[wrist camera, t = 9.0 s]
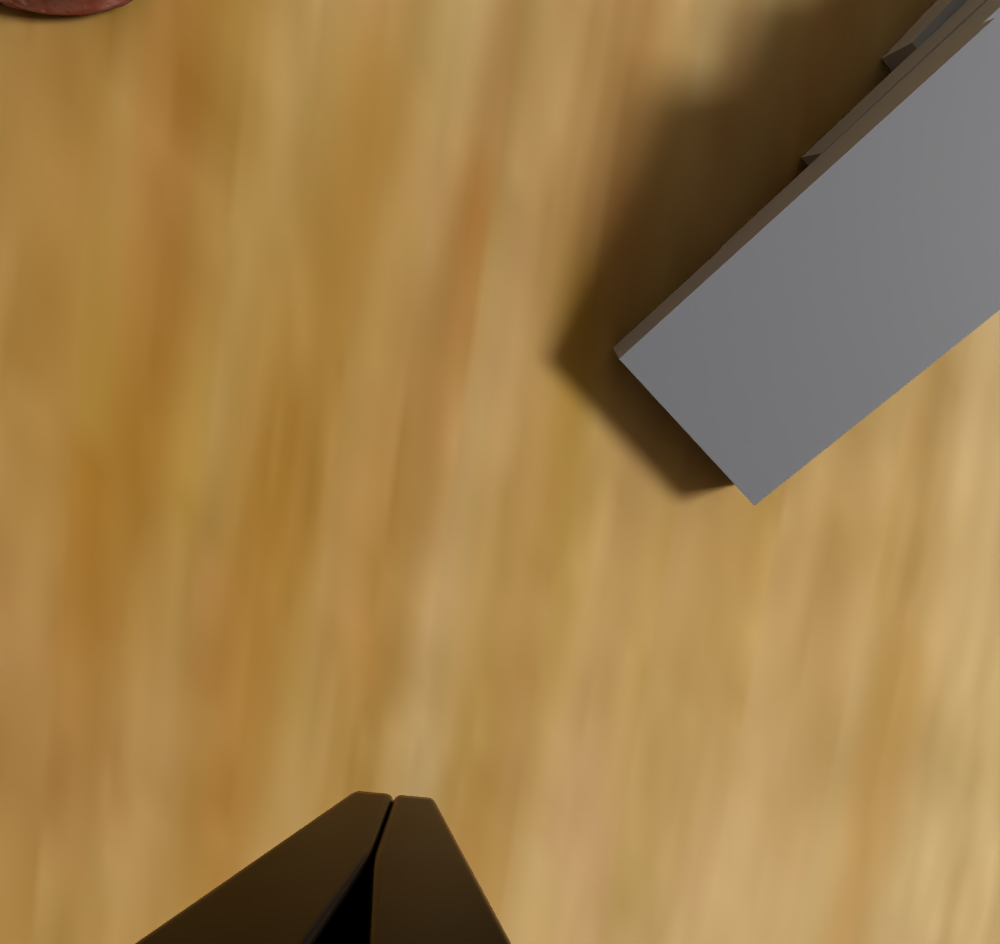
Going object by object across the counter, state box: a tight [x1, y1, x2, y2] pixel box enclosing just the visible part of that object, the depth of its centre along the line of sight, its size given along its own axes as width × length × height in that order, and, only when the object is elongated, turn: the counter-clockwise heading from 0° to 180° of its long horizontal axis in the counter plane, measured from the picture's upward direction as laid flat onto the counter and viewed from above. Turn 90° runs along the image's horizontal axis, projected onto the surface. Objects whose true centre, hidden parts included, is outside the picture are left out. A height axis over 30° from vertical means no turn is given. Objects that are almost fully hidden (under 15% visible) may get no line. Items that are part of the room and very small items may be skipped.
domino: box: [613, 17, 1000, 506], centre depth 18 cm, size 2×5×10 cm
